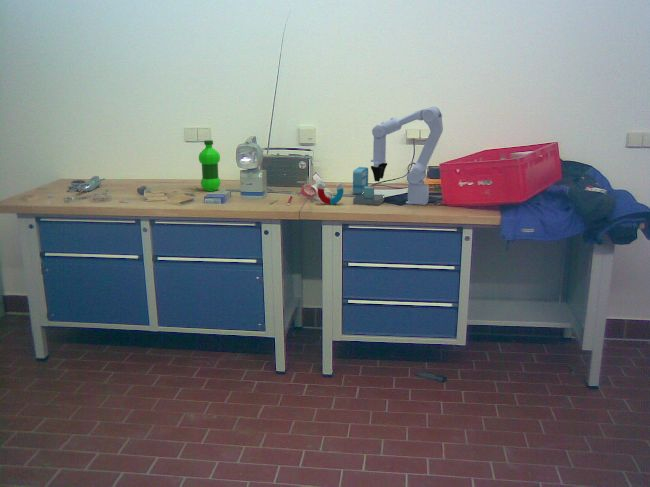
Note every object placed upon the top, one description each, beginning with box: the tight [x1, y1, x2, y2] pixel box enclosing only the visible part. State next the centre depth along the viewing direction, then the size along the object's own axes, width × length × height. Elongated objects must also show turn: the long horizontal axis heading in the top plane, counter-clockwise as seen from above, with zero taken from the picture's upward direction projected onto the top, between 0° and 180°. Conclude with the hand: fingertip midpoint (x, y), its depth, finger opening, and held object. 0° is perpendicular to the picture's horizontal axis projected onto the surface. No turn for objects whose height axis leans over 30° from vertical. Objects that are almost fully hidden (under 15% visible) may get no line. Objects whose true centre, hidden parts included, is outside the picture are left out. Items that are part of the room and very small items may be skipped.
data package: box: [352, 166, 369, 195], centre depth 323 cm, size 12×4×12 cm, turn 161°
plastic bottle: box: [198, 139, 222, 192], centre depth 327 cm, size 10×10×25 cm
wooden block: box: [364, 185, 375, 198], centre depth 302 cm, size 4×4×4 cm
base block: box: [352, 193, 385, 207], centre depth 303 cm, size 12×12×2 cm
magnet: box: [317, 181, 344, 206], centre depth 298 cm, size 12×3×10 cm, turn 86°
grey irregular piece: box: [67, 175, 106, 196], centre depth 331 cm, size 6×28×16 cm
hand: (378, 179), depth 306 cm, fingers open, 7 cm apart
